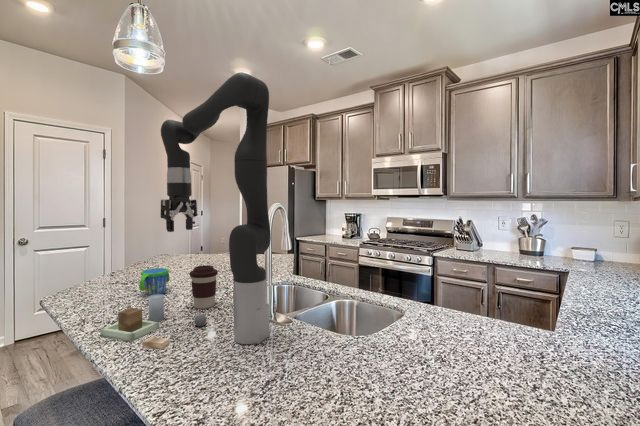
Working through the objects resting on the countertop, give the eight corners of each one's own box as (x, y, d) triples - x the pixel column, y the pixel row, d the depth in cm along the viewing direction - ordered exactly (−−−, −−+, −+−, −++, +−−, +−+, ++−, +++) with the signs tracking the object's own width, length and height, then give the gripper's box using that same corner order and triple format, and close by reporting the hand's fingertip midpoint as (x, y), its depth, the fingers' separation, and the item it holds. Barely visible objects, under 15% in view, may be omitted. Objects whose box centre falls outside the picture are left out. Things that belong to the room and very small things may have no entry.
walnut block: (142, 328, 102) (142, 309, 102) (129, 333, 98) (129, 313, 98) (131, 326, 104) (130, 307, 103) (118, 331, 99) (117, 312, 99)
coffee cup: (184, 307, 123) (183, 268, 123) (205, 300, 132) (204, 263, 132) (203, 312, 119) (203, 270, 118) (223, 304, 128) (223, 265, 127)
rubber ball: (208, 324, 107) (208, 313, 106) (201, 328, 103) (201, 317, 103) (199, 323, 108) (199, 312, 108) (192, 327, 104) (191, 316, 104)
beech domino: (169, 345, 92) (168, 338, 92) (161, 350, 89) (161, 343, 89) (150, 344, 93) (150, 337, 93) (142, 348, 90) (142, 341, 90)
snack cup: (149, 300, 133) (149, 275, 133) (130, 297, 137) (129, 273, 136) (178, 290, 148) (178, 267, 147) (160, 288, 151) (159, 266, 151)
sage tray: (158, 328, 103) (158, 322, 103) (131, 341, 94) (130, 334, 94) (129, 324, 107) (129, 317, 107) (100, 335, 98) (100, 329, 98)
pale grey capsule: (167, 318, 113) (166, 294, 112) (156, 322, 108) (155, 298, 108) (156, 316, 114) (156, 293, 114) (145, 321, 110) (145, 297, 110)
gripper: (172, 180, 102) (173, 233, 102) (202, 182, 115) (203, 229, 116) (153, 181, 104) (154, 232, 105) (185, 183, 118) (186, 228, 118)
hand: (180, 230), depth 110 cm, fingers open, 8 cm apart
